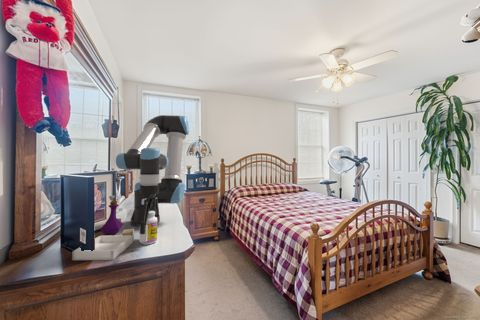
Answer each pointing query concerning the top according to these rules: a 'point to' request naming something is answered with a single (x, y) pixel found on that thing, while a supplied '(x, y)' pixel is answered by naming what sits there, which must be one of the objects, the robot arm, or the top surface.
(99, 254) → the tray
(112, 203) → the perfume bottle
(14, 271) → the top surface
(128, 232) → the maple block
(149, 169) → the robot arm
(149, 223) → the supplement bottle
